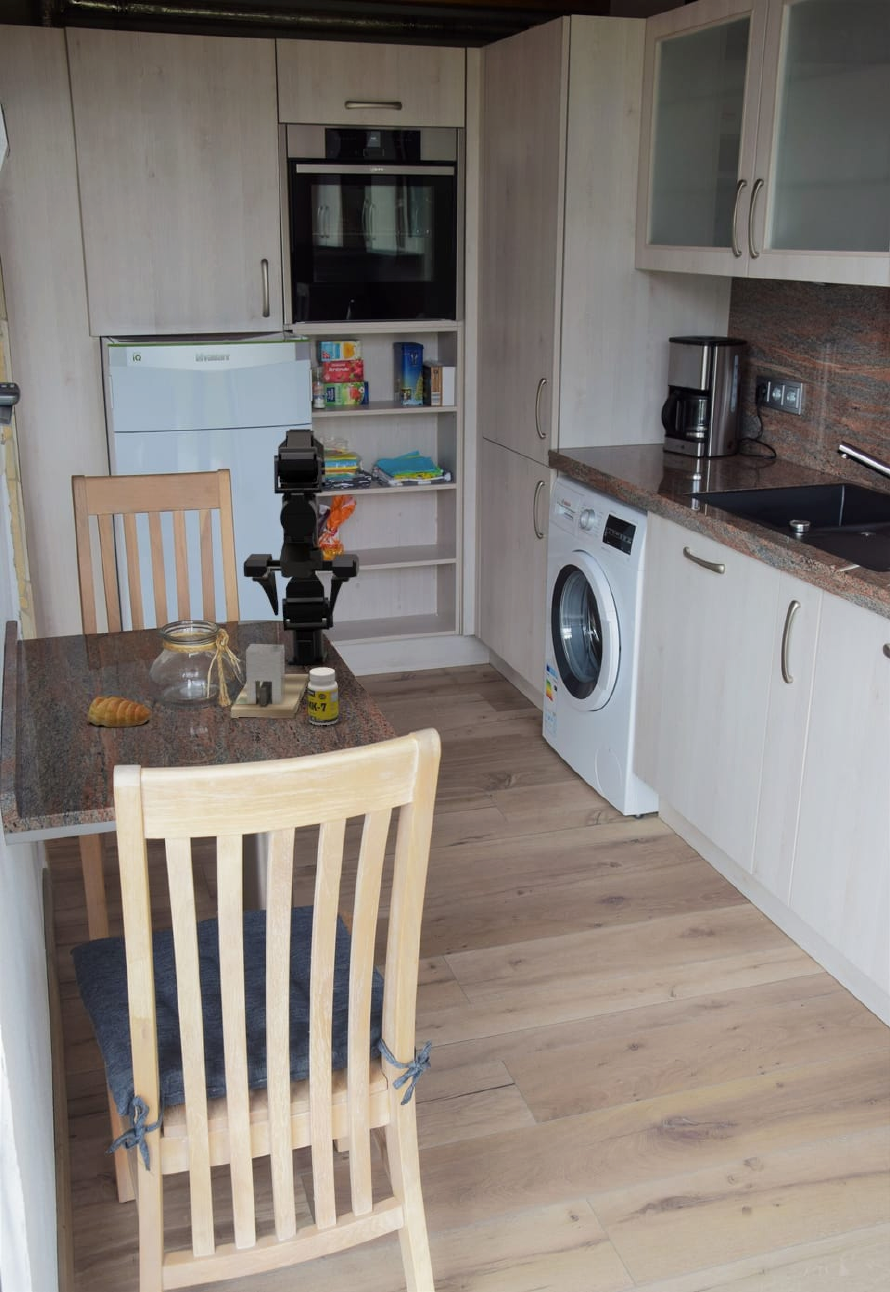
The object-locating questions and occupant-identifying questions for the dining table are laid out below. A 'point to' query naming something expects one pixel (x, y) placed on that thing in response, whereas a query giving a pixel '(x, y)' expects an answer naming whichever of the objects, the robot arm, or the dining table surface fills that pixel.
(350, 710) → the dining table surface
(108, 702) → the pastry
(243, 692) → the rack
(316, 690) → the supplement bottle
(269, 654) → the clip
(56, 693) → the dining table surface
